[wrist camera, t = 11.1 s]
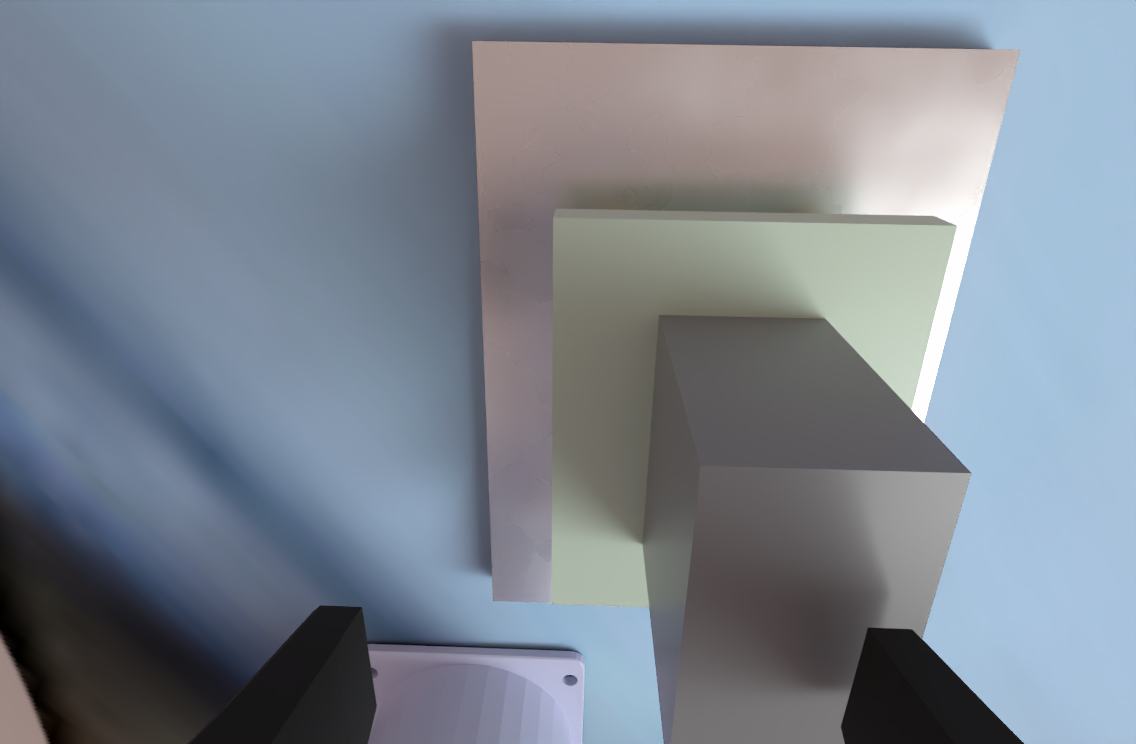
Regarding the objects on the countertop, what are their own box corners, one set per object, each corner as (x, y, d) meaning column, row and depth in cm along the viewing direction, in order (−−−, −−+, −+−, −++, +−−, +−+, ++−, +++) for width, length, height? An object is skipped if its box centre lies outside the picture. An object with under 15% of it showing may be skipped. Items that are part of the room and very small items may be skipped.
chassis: (862, 591, 22) (900, 665, 19) (496, 579, 22) (484, 649, 20) (995, 51, 16) (1080, 47, 13) (478, 42, 16) (455, 37, 13)
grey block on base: (847, 587, 18) (984, 862, 12) (553, 577, 19) (534, 844, 12) (933, 215, 14) (1209, 332, 8) (555, 208, 15) (527, 317, 8)
